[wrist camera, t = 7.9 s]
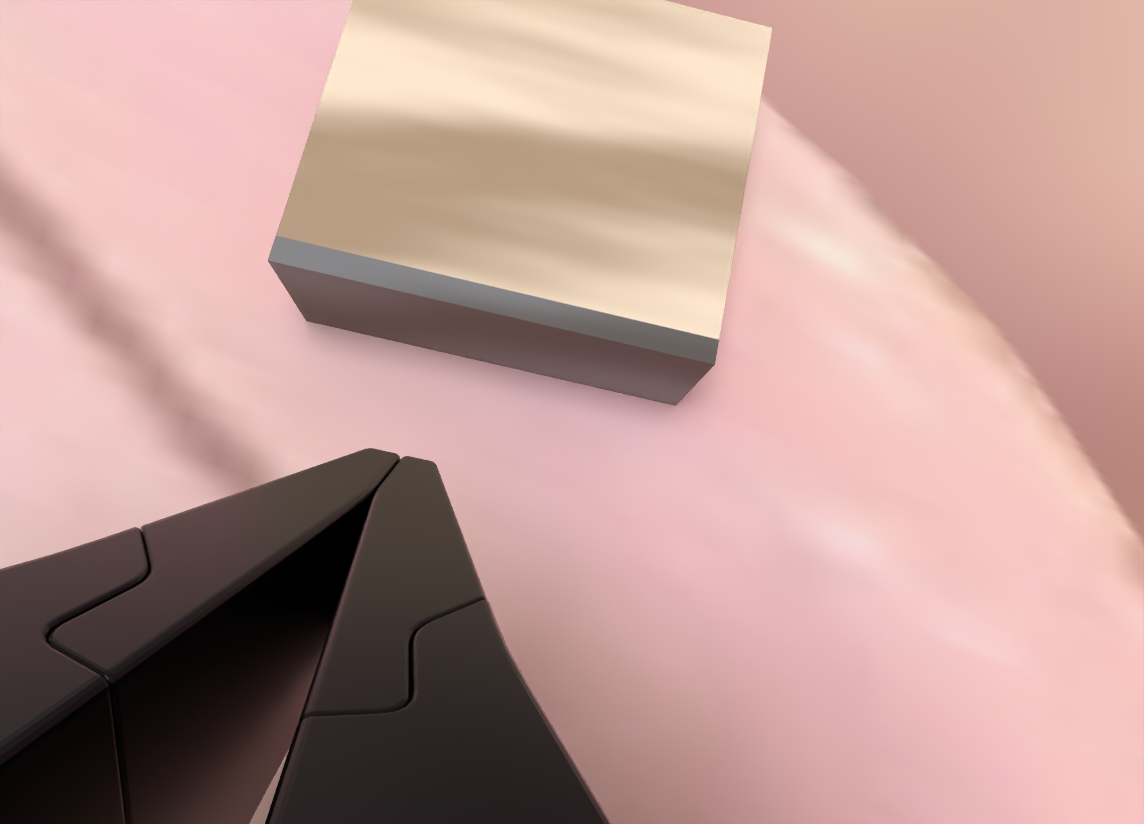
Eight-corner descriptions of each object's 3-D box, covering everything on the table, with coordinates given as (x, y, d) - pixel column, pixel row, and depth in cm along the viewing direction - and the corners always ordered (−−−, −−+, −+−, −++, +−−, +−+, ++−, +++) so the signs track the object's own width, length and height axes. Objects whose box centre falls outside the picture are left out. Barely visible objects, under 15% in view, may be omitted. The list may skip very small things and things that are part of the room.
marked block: (714, 364, 18) (772, 27, 20) (267, 260, 17) (377, -74, 20) (674, 406, 22) (725, 120, 24) (307, 322, 21) (395, 38, 24)
